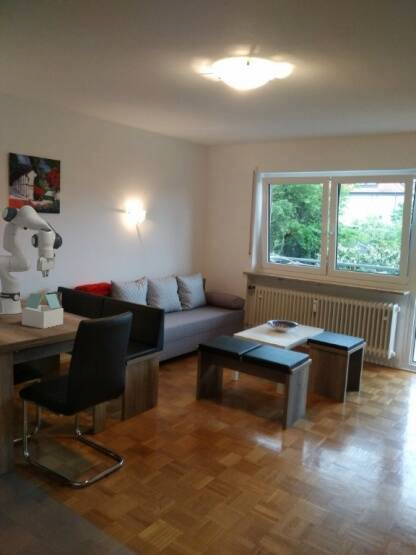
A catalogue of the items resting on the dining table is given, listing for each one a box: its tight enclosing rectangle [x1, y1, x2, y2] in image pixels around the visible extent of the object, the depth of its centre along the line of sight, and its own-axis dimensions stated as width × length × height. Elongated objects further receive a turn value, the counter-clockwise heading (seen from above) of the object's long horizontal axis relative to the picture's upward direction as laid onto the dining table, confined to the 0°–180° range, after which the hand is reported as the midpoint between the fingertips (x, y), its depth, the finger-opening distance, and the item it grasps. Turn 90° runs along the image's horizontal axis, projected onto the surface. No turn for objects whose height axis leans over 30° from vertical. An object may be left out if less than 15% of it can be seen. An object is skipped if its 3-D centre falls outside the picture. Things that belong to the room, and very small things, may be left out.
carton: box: [21, 304, 64, 330], centre depth 275 cm, size 19×17×10 cm
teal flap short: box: [44, 294, 60, 309], centre depth 273 cm, size 1×8×9 cm, turn 154°
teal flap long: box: [24, 293, 44, 309], centre depth 270 cm, size 10×1×9 cm, turn 65°
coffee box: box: [46, 291, 63, 308], centre depth 299 cm, size 9×6×16 cm
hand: (45, 276), depth 276 cm, fingers open, 3 cm apart
